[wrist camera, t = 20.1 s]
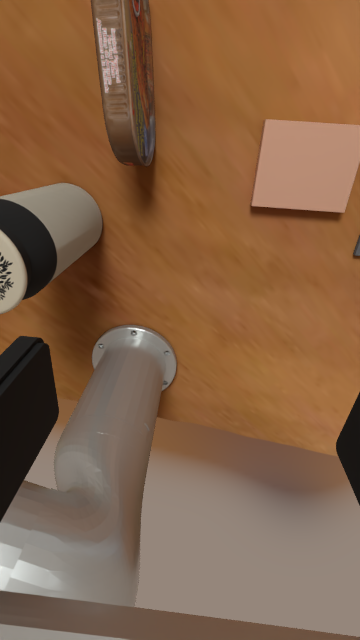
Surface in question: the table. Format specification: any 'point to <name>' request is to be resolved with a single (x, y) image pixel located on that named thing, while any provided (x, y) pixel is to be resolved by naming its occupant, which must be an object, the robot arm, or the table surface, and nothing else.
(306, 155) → the tile
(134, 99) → the tin
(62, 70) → the table surface
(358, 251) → the mat
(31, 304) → the table surface
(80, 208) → the travel mug
